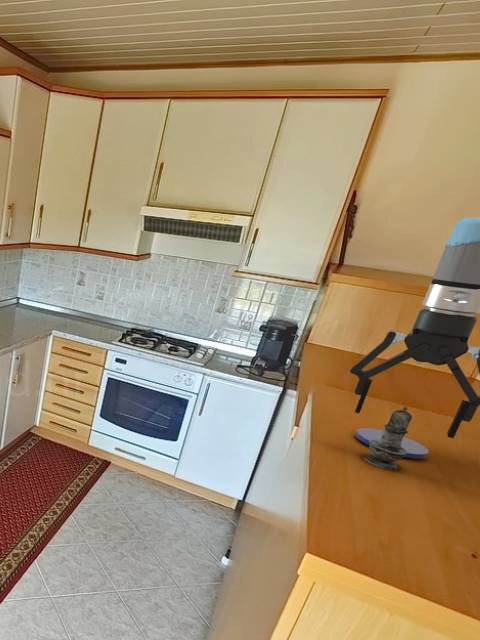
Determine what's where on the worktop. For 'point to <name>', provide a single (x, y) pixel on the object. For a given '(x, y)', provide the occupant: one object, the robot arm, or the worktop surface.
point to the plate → (409, 445)
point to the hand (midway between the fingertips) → (401, 423)
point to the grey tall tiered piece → (390, 441)
